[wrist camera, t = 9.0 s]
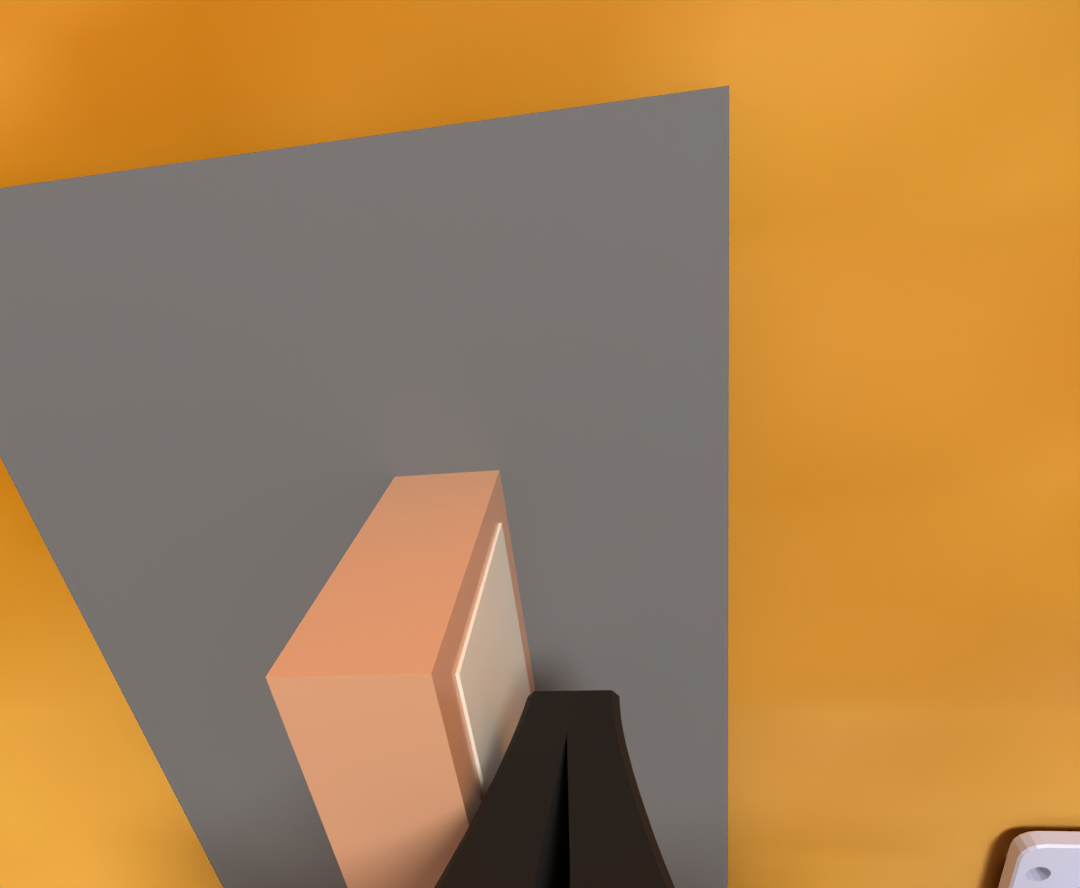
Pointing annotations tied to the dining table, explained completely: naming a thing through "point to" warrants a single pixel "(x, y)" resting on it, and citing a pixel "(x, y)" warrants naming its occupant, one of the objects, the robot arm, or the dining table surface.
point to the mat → (387, 427)
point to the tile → (409, 678)
